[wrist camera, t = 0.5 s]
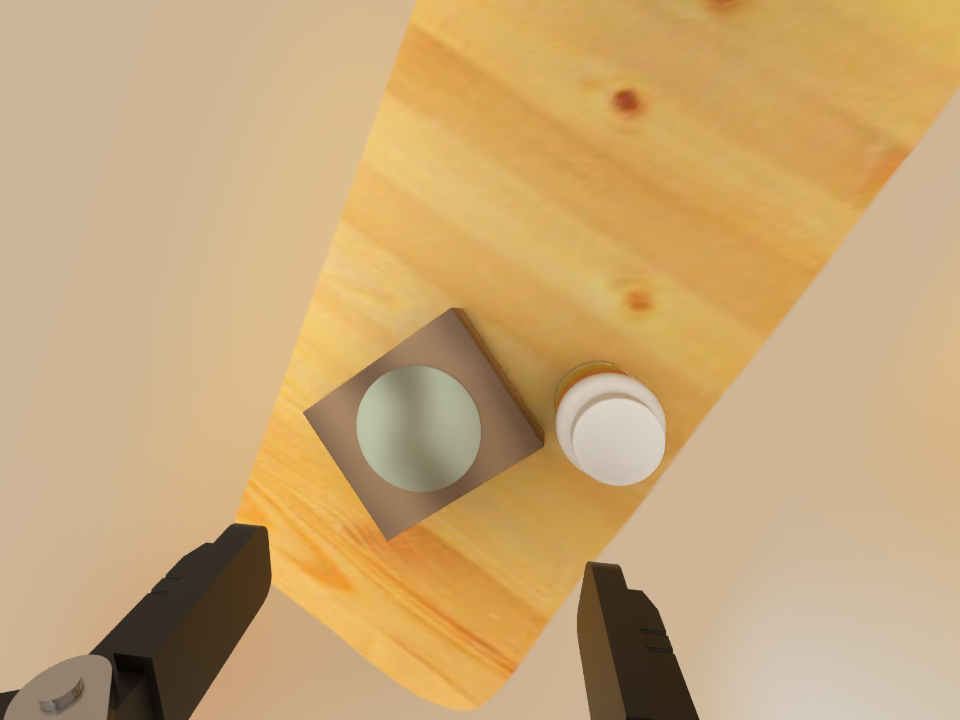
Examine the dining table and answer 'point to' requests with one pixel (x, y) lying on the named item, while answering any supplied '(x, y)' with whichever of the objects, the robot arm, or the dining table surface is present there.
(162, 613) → the robot arm
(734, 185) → the dining table surface
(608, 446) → the supplement bottle
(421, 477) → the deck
